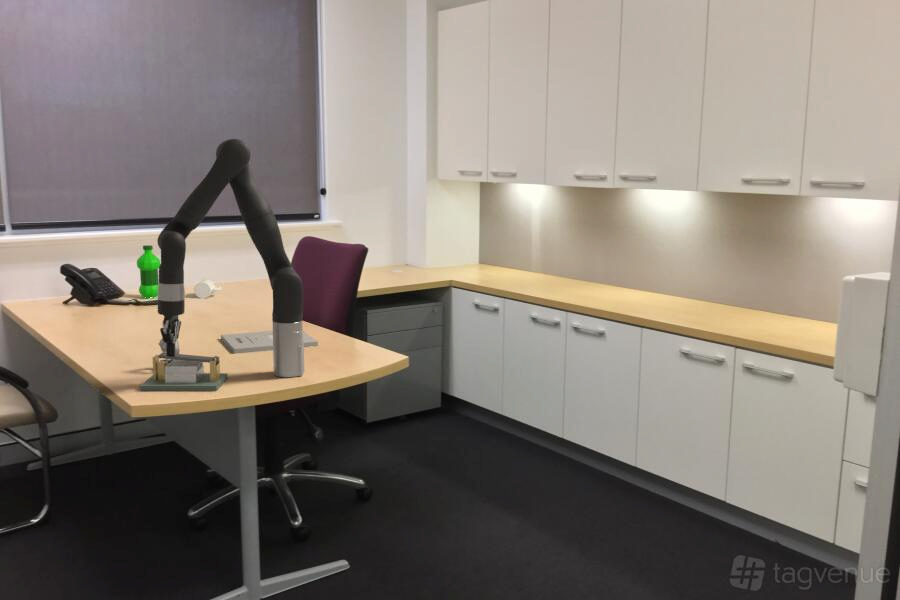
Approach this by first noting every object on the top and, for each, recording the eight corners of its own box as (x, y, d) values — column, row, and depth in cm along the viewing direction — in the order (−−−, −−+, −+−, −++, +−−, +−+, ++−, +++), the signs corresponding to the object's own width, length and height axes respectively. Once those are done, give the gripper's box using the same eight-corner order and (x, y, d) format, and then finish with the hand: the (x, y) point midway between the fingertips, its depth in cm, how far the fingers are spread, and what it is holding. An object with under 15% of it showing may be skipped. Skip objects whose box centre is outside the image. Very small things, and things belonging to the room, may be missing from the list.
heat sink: (204, 375, 247) (203, 359, 246) (196, 383, 238) (195, 367, 237) (174, 375, 246) (173, 359, 245) (165, 383, 237) (164, 367, 236)
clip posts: (220, 377, 245) (220, 354, 244) (216, 381, 240) (215, 358, 238) (158, 376, 244) (157, 354, 243) (152, 381, 239) (151, 358, 238)
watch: (174, 365, 263) (172, 332, 261) (185, 370, 258) (184, 336, 256) (157, 368, 259) (155, 335, 257) (168, 373, 254) (167, 339, 252)
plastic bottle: (157, 295, 394) (155, 244, 390) (164, 298, 386) (161, 246, 381) (136, 296, 389) (133, 245, 384) (142, 300, 380) (139, 247, 376)
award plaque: (221, 340, 302) (220, 334, 302) (299, 333, 315) (299, 328, 315) (234, 355, 280) (234, 348, 280) (318, 347, 294) (317, 341, 293)
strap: (218, 361, 243) (218, 356, 243) (215, 364, 240) (215, 359, 239) (162, 356, 242) (162, 351, 242) (158, 359, 239) (158, 354, 238)
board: (227, 378, 250) (227, 373, 249) (216, 390, 236) (216, 386, 235) (155, 377, 249) (155, 373, 248) (140, 390, 235) (139, 385, 235)
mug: (194, 298, 387) (193, 282, 386) (199, 295, 397) (198, 279, 395) (219, 298, 388) (219, 282, 386) (223, 295, 398) (223, 279, 396)
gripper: (177, 302, 231) (177, 361, 234) (190, 295, 244) (189, 350, 247) (150, 300, 231) (150, 359, 233) (165, 293, 244) (164, 349, 246)
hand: (170, 355), depth 240 cm, fingers closed
